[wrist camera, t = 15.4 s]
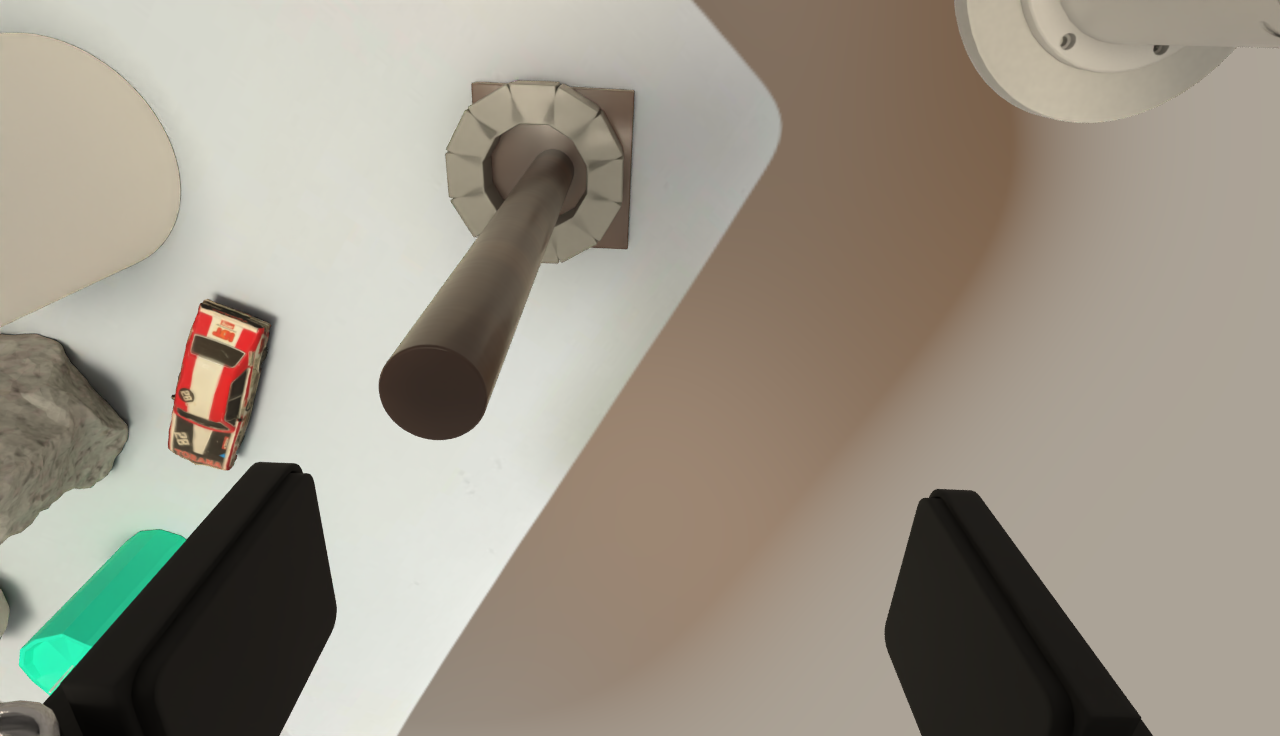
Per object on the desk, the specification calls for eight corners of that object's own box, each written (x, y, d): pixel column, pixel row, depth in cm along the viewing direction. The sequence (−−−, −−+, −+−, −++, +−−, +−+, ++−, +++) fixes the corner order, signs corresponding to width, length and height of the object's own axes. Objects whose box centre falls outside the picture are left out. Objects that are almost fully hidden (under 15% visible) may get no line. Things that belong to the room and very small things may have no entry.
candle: (209, 594, 56) (108, 729, 45) (129, 585, 55) (8, 720, 44) (201, 534, 53) (92, 662, 42) (118, 524, 53) (-14, 652, 42)
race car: (300, 319, 48) (271, 336, 43) (238, 465, 50) (205, 496, 46) (227, 286, 47) (190, 300, 42) (168, 437, 49) (127, 465, 45)
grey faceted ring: (625, 83, 39) (624, 87, 37) (621, 252, 43) (620, 265, 41) (450, 77, 39) (439, 80, 36) (463, 248, 43) (453, 260, 40)
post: (634, 90, 40) (646, 200, 14) (627, 244, 44) (626, 559, 18) (475, 81, 40) (178, 179, 14) (482, 237, 44) (262, 549, 17)
